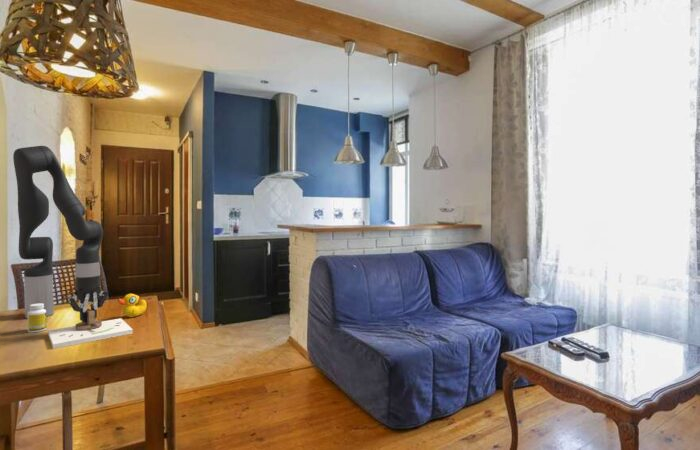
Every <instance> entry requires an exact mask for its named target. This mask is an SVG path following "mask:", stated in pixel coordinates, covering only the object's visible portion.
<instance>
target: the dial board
mask: <svg viewBox="0 0 700 450" xmlns="http://www.w3.org/2000/svg"><path fill="white" fill-rule="evenodd" d="M101 321H102V325H101V326H100V327H99V328H95V329H90V330H76V329H75V325H72V326H67V327H60V328H53V329H49V330H47V336H48V338H49V341H50V344H51V347H52V349H54V350H55V349H59V348H65V347H69V346H74V345H80V344H86V343H90V342H95V341H101V340H105V339H112V338H115V337H120V336H126V335H130V334H131V335H132V334H133V333H134V332H133V331H134V330H133V328H132V327H131V326H130V325H129V324H128V323H127V322H126V321H125V320H123V318H120V317H119V318H115V319H108V320H101ZM111 337H112V338H111Z"/></svg>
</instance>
